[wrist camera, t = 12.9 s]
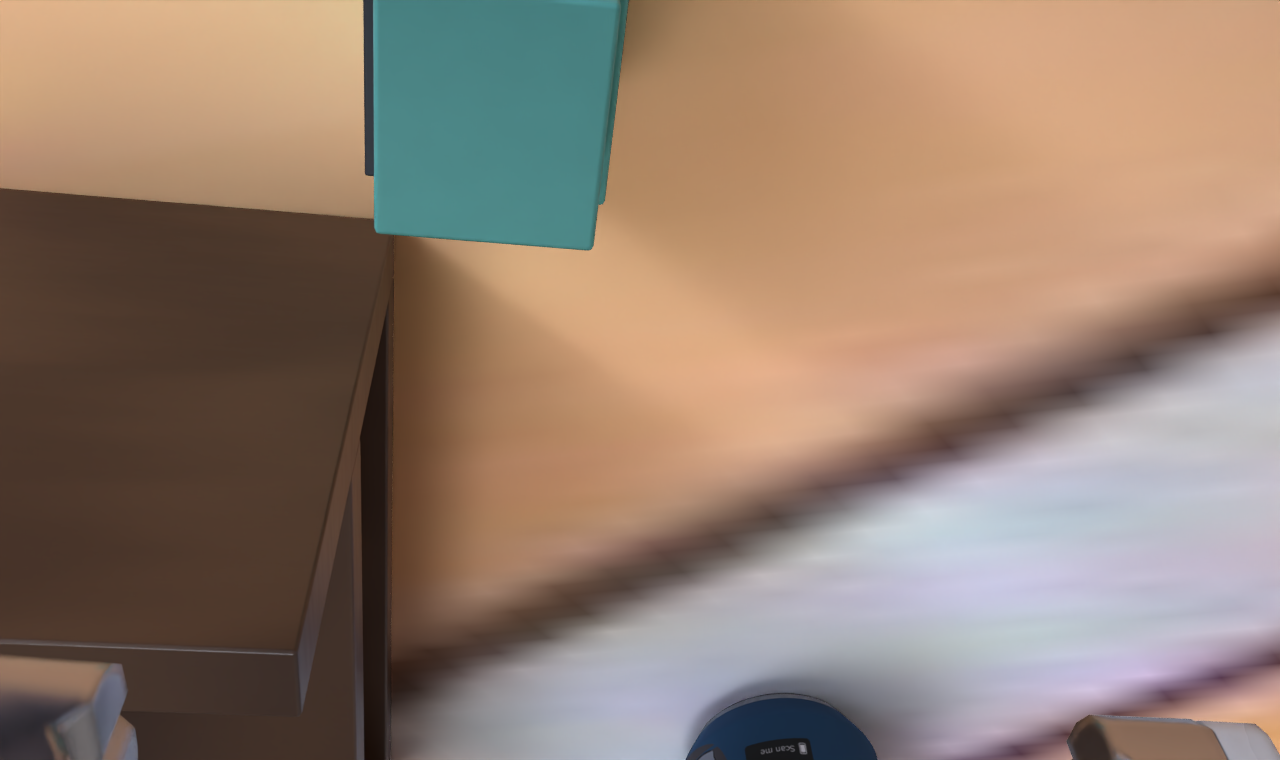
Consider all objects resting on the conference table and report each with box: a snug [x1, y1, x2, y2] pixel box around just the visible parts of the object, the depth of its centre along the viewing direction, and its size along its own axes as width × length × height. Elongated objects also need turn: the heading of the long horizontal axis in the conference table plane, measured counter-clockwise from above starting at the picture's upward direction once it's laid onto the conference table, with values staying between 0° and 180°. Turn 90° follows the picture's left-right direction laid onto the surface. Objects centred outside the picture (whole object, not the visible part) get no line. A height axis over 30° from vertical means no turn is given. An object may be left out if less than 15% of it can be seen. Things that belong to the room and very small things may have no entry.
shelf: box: [0, 189, 394, 760], centre depth 30 cm, size 11×22×14 cm, turn 173°
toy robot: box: [363, 0, 629, 250], centre depth 22 cm, size 4×8×9 cm, turn 173°
